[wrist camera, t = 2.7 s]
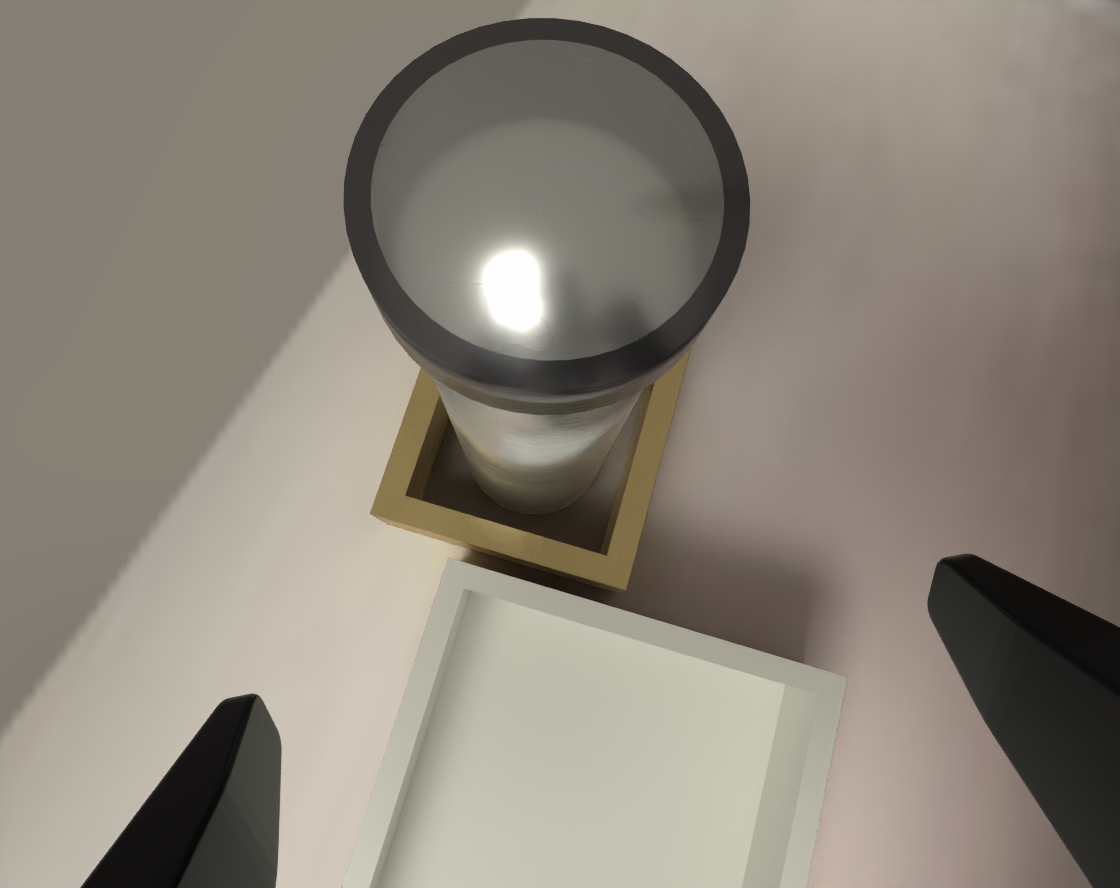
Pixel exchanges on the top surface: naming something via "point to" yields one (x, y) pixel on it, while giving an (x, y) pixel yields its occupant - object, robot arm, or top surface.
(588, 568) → the socket collar
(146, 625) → the top surface
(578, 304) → the strut
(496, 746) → the tray
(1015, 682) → the robot arm
